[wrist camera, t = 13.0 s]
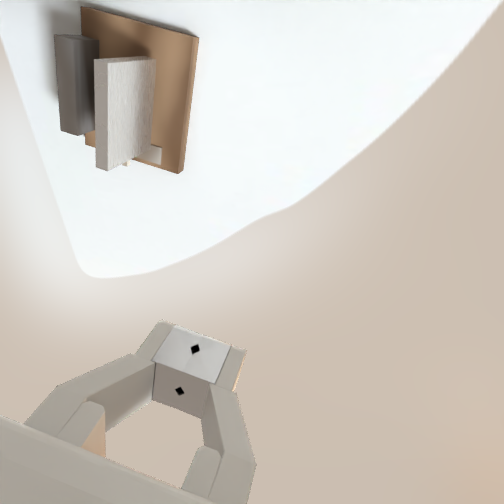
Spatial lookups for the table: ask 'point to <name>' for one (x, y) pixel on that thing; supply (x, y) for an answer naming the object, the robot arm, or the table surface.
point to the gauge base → (129, 45)
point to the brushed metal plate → (123, 109)
